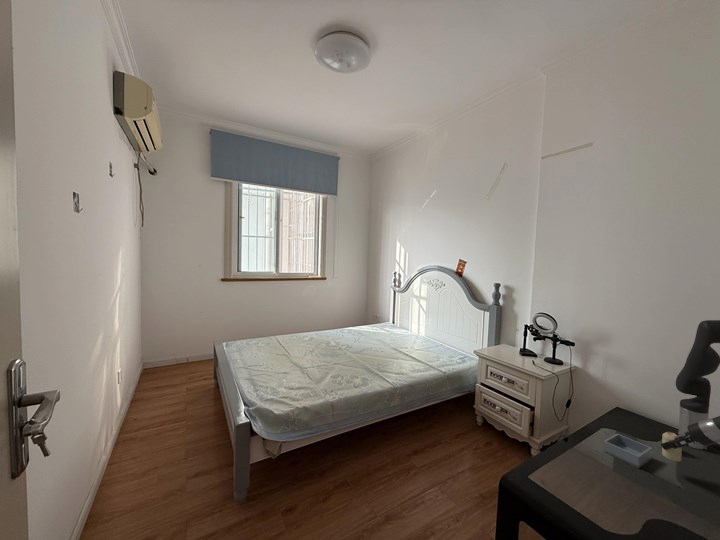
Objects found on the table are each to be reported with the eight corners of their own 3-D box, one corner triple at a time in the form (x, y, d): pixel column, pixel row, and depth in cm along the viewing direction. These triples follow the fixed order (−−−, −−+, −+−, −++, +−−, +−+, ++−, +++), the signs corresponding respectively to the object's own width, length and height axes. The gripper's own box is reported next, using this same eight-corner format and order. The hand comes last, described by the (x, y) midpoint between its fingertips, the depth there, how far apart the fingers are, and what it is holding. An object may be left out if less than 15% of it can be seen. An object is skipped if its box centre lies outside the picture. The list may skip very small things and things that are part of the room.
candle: (685, 462, 118) (686, 438, 118) (669, 460, 119) (669, 436, 119) (673, 453, 124) (674, 430, 124) (658, 452, 125) (659, 429, 125)
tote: (617, 443, 141) (617, 433, 141) (652, 459, 130) (652, 448, 130) (602, 451, 135) (603, 440, 135) (638, 468, 124) (638, 457, 124)
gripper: (705, 417, 118) (663, 430, 129) (693, 426, 111) (650, 440, 122) (725, 436, 113) (680, 449, 124) (714, 447, 107) (667, 460, 118)
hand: (665, 444), depth 123 cm, fingers closed on candle, 5 cm apart
